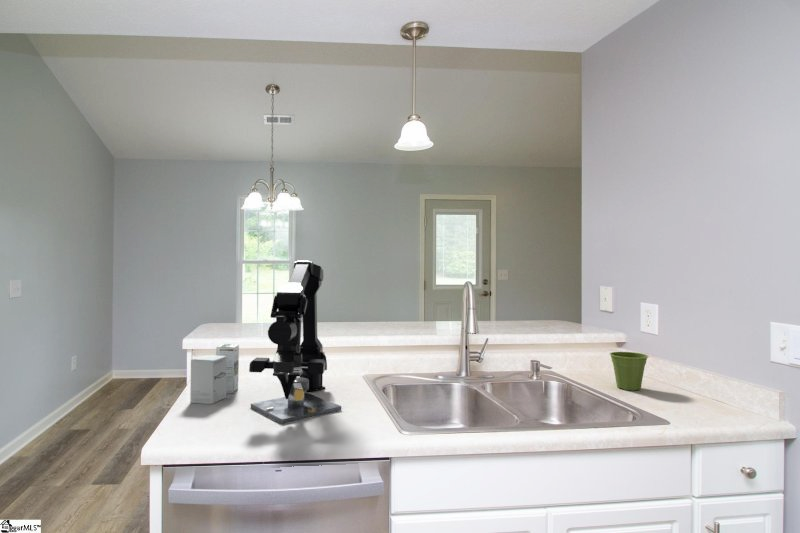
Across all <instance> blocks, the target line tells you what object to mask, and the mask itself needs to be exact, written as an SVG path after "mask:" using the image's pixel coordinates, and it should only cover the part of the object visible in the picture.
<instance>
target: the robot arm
mask: <svg viewBox="0 0 800 533" xmlns="http://www.w3.org/2000/svg"><path fill="white" fill-rule="evenodd" d="M323 281H324V269H323V267H322V266H320V265H317V264H315V263H314V262H313V261H311V260H297V261H294V265H293V270H292V273H291V274H290V278H289V279H288V282H287V284H285V285H283V286H280V287H279V289H278V290H277V292H276V294H275V295H274V298H273V302H272V307H271V312H270V318H271V319H272V318H273V319H274V318H275V320H276V321H274V322H272V324H270V326H269V327H268V330H267V336H268V339H269V340H270V342H272V344H274V345H277V349H276V351H275V354H274V357H273V360H272V361H271V360H270V357H255V358H254V359H252V360H251V361H250V362H249V365H248V366H249V371H248V372H249V373H262V372H263V371H264V370H265V369H268V370H269V369H270V370H273V373H272V376H273V377H277V379H278V380H279V383H280V385H281V388H282V390H283V391H282V392H283V394H284V397H285V398H286V399H288V397H289V394H290V392H291V389H292V386H293V384H294V381H295V379H296V377H301V378H307V379H309V390H307V391H306V393H309V392H315V391H320V390H324V389H326V386H323V380H324V379H323V374H325V371H327V370H328V363H327V362H328V361H327V356H326V354H325V352H324V349H323V348H324V347H323V343H321V341H320V339H319V338H318V306H317V305H318V302H317V301H318V299H317V298H318V292H319V290H320V289H321V286H322V282H323ZM301 332H302V333H301ZM301 334H302V335H301ZM301 336H302V342H301Z"/></svg>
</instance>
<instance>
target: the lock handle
mask: <svg viewBox="0 0 800 533" xmlns="http://www.w3.org/2000/svg"><path fill="white" fill-rule="evenodd" d="M307 390H309V379H307V378H301V377H300V376H298V377H296V379H295V381H294V384H293V386H292V389H291V392H290V393H293V394H294V399H295V401H299V400H303V392H304V393H305V392H307Z"/></svg>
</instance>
